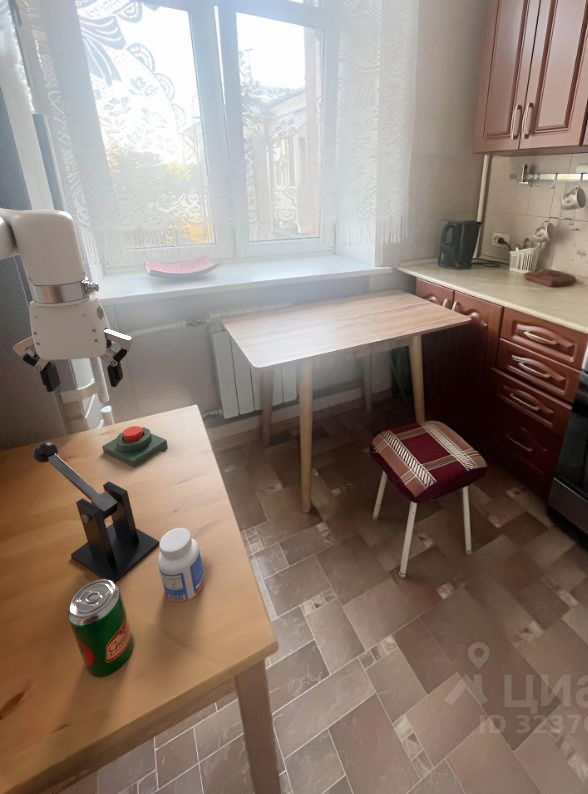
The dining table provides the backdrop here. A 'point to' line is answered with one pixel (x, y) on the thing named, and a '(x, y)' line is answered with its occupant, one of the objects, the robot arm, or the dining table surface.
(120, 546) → the bracket
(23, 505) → the dining table surface
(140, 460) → the control block
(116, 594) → the soda can
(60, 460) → the lever
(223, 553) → the dining table surface
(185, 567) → the pill bottle
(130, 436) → the button
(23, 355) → the robot arm
